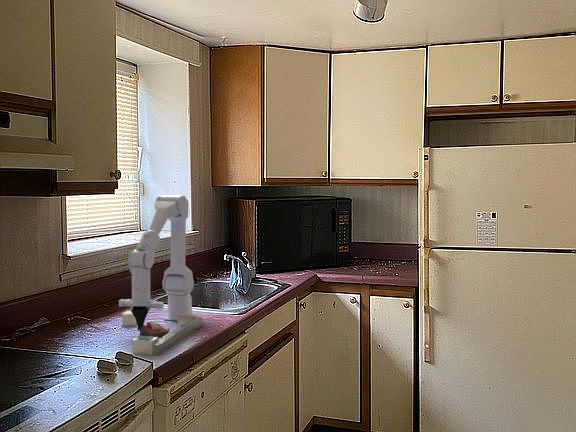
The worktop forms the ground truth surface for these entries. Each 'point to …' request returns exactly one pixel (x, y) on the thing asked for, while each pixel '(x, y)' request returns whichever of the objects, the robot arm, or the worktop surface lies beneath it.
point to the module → (128, 319)
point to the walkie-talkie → (154, 330)
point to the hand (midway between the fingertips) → (141, 329)
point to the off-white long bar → (167, 336)
